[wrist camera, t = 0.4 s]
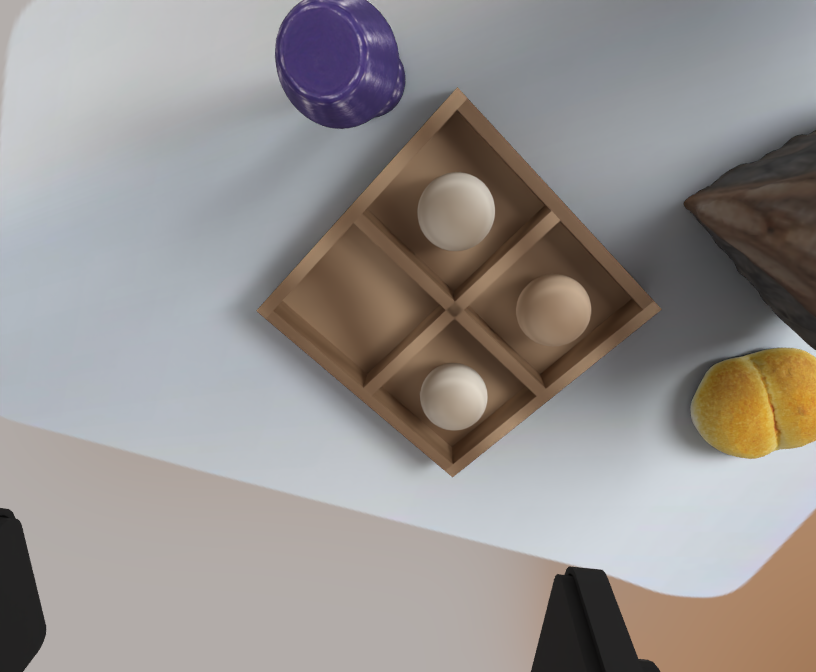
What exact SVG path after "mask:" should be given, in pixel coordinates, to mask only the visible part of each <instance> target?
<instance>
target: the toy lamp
mask: <svg viewBox="0 0 816 672" xmlns="http://www.w3.org/2000/svg"><path fill="white" fill-rule="evenodd" d="M275 59H276V67H277V73H278V76H279V80H280V83H281V85H282V88H283V90H284V92H285V93H286V95H287V97H288V98H289V100H290V101H291V103H292V104H293V105H294V106H295V107H296V108H297V109H298V110H299V111H300V112H301V113H302V114H303V115H304V116H306V117H307V118H309V119H310V120H312V121H314V122H315V123H318V124H320V125H322V126H325V127H329V128H337V129H344V128H352V127H356V126H359V125H361V124H364V123H366V122H368V121H369V120H371V119H373V118H374V117H379V116H381V115H384V114H386V113H388V112H389V111H391V110H392V109H393V108H394V107H395V106H396V105H397V104H398V102H399V101H400V99H401V97H402V95H403V91H404V87H405V72H404V68H403V65H402V62H401V60H400V59H399V53H398V47H397V43H396V40H395V37H394V34H393V32H392V30H391V27H390V26H389V24H388V23H387V21H386V20H385V18H384V17H383V16H382V14H381V13H380V12H379V11H378V10H377V9H376V8H375V7H374V6H373V5H372V4H370V3H369V2H368V1H366V0H302V1H301V2H300V3H298V4H297V5H296V6H295V7H294V8H293V9H292V10H291V11H290V12H289V13H288V14H287V16H286V17H285V19H284V20H283V22H282V24H281V26H280V28H279V31H278V35H277V38H276V48H275Z"/></svg>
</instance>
